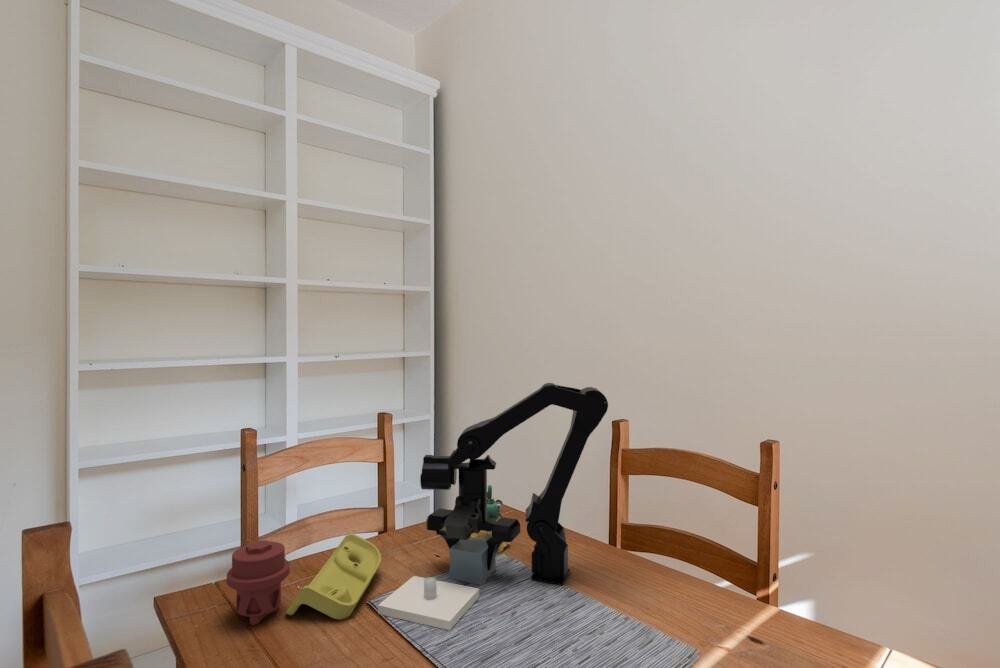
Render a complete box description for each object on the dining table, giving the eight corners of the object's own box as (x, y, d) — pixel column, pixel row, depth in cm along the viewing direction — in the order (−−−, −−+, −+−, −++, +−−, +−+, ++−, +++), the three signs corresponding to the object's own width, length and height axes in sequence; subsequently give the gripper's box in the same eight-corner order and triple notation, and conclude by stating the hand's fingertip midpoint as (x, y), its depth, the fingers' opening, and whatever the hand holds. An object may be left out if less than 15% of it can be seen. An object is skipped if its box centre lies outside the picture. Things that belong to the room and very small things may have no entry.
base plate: (479, 596, 99) (479, 572, 99) (449, 630, 88) (449, 603, 88) (413, 583, 105) (413, 560, 105) (378, 613, 93) (378, 588, 93)
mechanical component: (295, 598, 99) (282, 628, 89) (237, 603, 97) (218, 633, 87) (295, 531, 99) (282, 554, 89) (237, 535, 97) (217, 558, 87)
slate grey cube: (495, 569, 111) (495, 540, 111) (481, 584, 104) (481, 553, 104) (464, 564, 113) (464, 535, 113) (449, 578, 107) (449, 548, 107)
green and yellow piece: (511, 529, 133) (512, 472, 132) (508, 569, 116) (509, 504, 114) (473, 528, 134) (473, 471, 132) (464, 568, 116) (464, 502, 114)
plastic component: (351, 609, 90) (297, 582, 91) (334, 647, 91) (280, 619, 92) (388, 551, 111) (344, 528, 111) (373, 582, 112) (329, 559, 112)
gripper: (412, 496, 105) (412, 575, 105) (500, 507, 98) (500, 593, 98) (439, 481, 115) (439, 553, 115) (521, 490, 108) (521, 567, 108)
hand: (472, 566), depth 109 cm, fingers closed on slate grey cube, 7 cm apart
